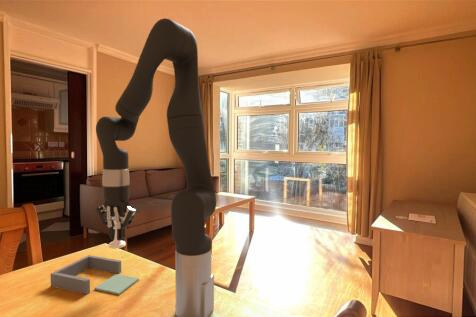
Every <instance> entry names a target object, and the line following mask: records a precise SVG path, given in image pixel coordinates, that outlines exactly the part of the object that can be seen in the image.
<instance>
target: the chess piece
mask: <svg viewBox="0 0 476 317" xmlns="http://www.w3.org/2000/svg"><path fill="white" fill-rule="evenodd" d="M114 217H115V216H114ZM113 222H114V224H115V227H113V229H115V238H114V239H113V240H112V241H111V242H109V243H108V246H107V247H108V249H122V248H124V247H125V246H126V245H127V243H126V241H124V240H120V241H119V240H117V229H118V228H117V221H116V220H113Z"/></svg>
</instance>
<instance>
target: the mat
mask: <svg viewBox="0 0 476 317" xmlns="http://www.w3.org/2000/svg"><path fill="white" fill-rule="evenodd" d="M139 281H140V278H138V277H134V276H129V275H122V274H120V273H119V274H118V273H114V275H112V276H111V277H109V278H107V279H106V280H105V281H103V282H100V283H99V284H98V285H97V286H95V287H94V290H95V291H99V292H103V293H108V294H113V295H118V296H120V295H121V294H123V293H124V292H125V291H127V290H128V289H130V288H131V287H132V286H134V285H135V284H136V283H138V282H139Z"/></svg>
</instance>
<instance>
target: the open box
mask: <svg viewBox="0 0 476 317" xmlns="http://www.w3.org/2000/svg"><path fill="white" fill-rule="evenodd" d="M88 269H93V270H98V271H103V272H110V273H114V274H119V275H120V274H121V273H122V260H120V259H114V258H109V257H102V256H98V255H91V254H87V255H86V256H84V257H82V258H80V259H78V260H76V261H73V262H72V263H69V264H67V265H65V266H63V267H61V268H59V269H58V270H55V271H53V272H51V273H50V287H53V288H57V289H61V290H66V291H70V292H74V293H79V294H84V295H89V293H91V283H90V282H91V279H90V278H87V277H81V276H77V275H79V274H80V273H82V272H84V271H86V270H88Z"/></svg>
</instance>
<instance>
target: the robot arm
mask: <svg viewBox="0 0 476 317" xmlns="http://www.w3.org/2000/svg"><path fill="white" fill-rule="evenodd" d="M198 55H199V54H198V43H197V39H196V36H195V34H194V33H193V32H192V30H191V29H189V28H187V27H185V26H183V25H182V24H180V23H178V22H177V21H174V20H172V19H170V18H160V19H158V20H157V21H156V22H155V23H154V25H153V26H152V28H151V30H150V31H149V33H148V36H147V38H146V41H145V43H144V45H143V48H142V50H141V53H140V55H139V58H138V61H137V64H136V66H135V68H134V71H133V74H132V75H131V78H130V80H129V82H128V84H127V85H126V87H125V89H124V90H123V92H122V94H121V95H120V97H119V98H118V100H117V102H116V104H115V109H114V110H115V112H116V113H117V115H119V116H120V117H117V116H102V117H100V118H99V119H98V120H97V122H96V126H95V133H96V138H97V141H98V143H99V147H100V149H101V154H102V169H103V170H102V177H101V179H102V200H103V201H104V202H103V204H102V205H100V206H97V207H96V212H97V213H98V216H99V218H100V220H101V223H102V225H103V226H107V227H108V237H109V239H110V240H112V241H113V240H114V238H115V229H113V227H115V224H114V222H113V220H116V221H117V228H118V229H117V240H119V241H120V240H122V241H124V239H125V237H126V228H127V227H129V226H131V224H132V223H133V220H134V218H135V217H136V214H137V212H138V210H137V208H132V207H131V205H130V202H129V199H130V197H131V196H130V195H131V194H130V192H131V190H130V183H131V182H130V181H131V180H130V177H131V176H130V170H129V152H128V150H126V149H123V148H119V147H118V145H117V143H116V142H117V141H118V142H125V141H128V140H130V139H131V138H132V137H133V136H134V135H135V132H136V130H137V126H138V122H139V120H140V116H141V115H142V114H143V112H144V111H145V109H146V108H147V106H148V104H149V102H150V101H151V99H152V97H153V89H154V78H155V74H156V71H157V69H158V68H159V66H160V65H161V64H162V63H163V62H164V60H165V61H166V60H167V61H170V62H171V63H172V67H173V72H174V88H173V91H172V95H171V97H170V99H169V102H168V105H167V110H166V120H167V121H166V122H167V129H168V135H169V136H168V137H169V139H170V143H171V145H172V146H173V147H172V148H173V149H174V151H175V153H176V154H177V156H178V157H179V160H180V161H181V163H182V165H183V168H184V169H183V170H184V172H185V173H184V174H185V181H186V188H184V189H182V190H180V191H178V192H177V193H176V194H174V196H173V198H172V201H171V208H170V211H171V212H170V218H171V234H172V239H173V243H174V244H175V317H210V315H212V314H211V313H213V310H214V309H215V308H214V307H215V302H214V301H215V275H214V274H212V243H213V242H212V238H211V236H210V235H209V234H207V233H206V230H205V229H206V228H205V220H207V219H208V218H211V216H212V215H213V214H214V213H215V211H216V209H217V196H216V190H215V187H214V183H213V179H212V174H211V170H210V165H209V157H208V156H209V155H208V148H207V147H208V146H207V141H206V132H205V130H206V129H205V122H204V114H203V108H202V101H201V100H202V99H201V93H200V92H201V91H200V83H199V82H200V81H199V80H200V79H199V57H198ZM114 216H115V217H114Z"/></svg>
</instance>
